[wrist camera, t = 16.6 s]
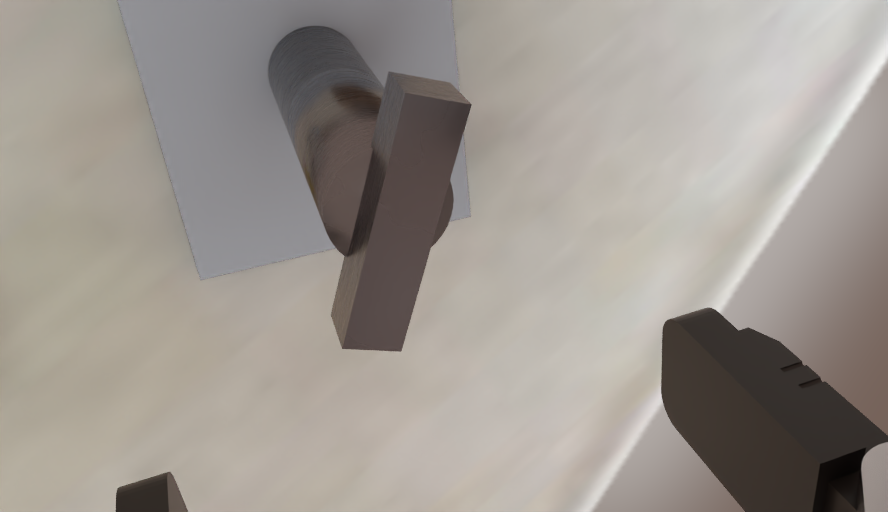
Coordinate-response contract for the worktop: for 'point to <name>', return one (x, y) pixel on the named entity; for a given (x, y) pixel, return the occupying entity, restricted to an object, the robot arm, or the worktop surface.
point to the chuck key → (370, 173)
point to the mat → (263, 111)
